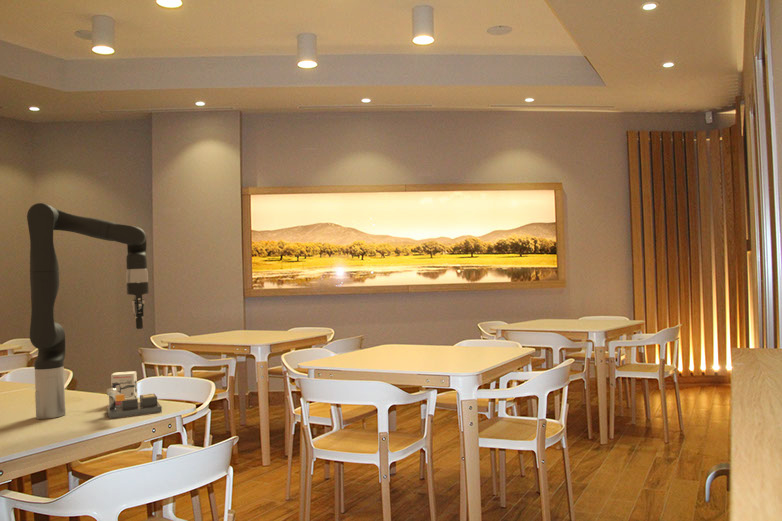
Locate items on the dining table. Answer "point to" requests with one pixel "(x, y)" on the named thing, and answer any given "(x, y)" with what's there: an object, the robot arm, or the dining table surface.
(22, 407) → the dining table surface
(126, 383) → the ink box
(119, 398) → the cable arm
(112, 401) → the dark boxy piece
